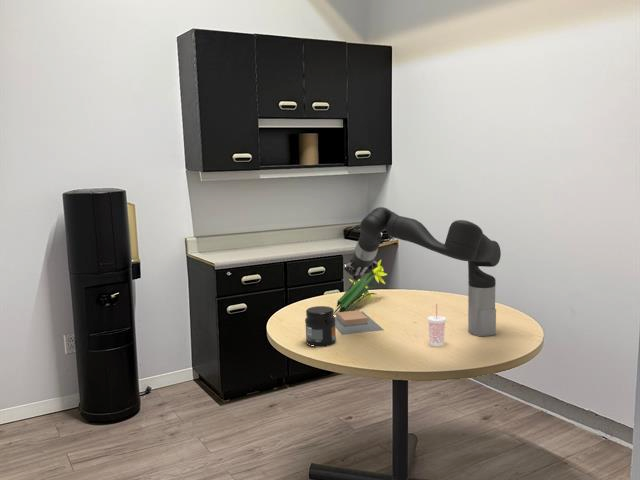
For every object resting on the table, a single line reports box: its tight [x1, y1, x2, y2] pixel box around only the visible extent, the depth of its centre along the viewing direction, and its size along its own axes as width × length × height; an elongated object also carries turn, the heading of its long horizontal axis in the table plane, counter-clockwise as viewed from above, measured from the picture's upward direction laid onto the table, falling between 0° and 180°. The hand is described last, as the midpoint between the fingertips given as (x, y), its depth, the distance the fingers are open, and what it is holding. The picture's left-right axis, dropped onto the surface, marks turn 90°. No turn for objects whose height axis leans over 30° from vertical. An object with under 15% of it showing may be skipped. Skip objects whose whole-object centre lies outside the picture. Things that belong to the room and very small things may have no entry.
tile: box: [336, 310, 368, 327], centre depth 228 cm, size 2×9×11 cm
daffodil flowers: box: [334, 259, 388, 314], centre depth 251 cm, size 17×15×35 cm
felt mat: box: [334, 310, 385, 336], centre depth 227 cm, size 26×16×1 cm, turn 14°
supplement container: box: [304, 305, 337, 347], centre depth 205 cm, size 10×10×12 cm
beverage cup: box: [427, 303, 447, 347], centre depth 199 cm, size 6×6×14 cm
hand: (355, 278), depth 216 cm, fingers closed
